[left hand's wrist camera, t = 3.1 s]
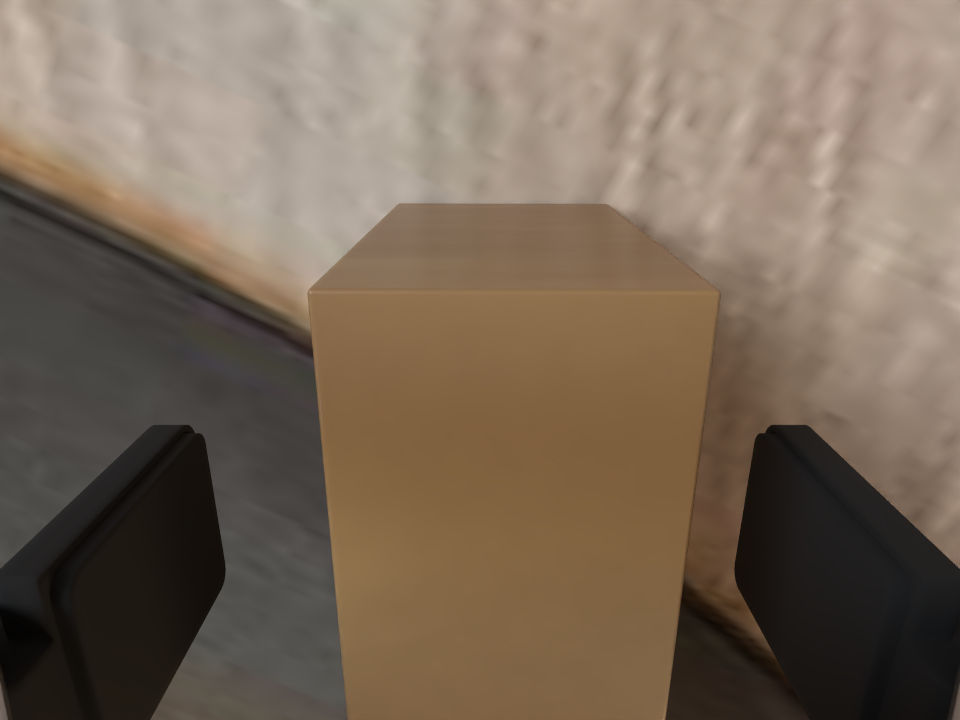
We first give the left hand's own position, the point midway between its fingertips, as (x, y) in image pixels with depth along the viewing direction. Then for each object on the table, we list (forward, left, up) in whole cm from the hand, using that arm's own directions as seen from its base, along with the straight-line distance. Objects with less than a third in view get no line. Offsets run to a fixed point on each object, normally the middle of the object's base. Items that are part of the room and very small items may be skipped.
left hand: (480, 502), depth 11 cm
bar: (+20, +23, -4) cm, 31 cm away
